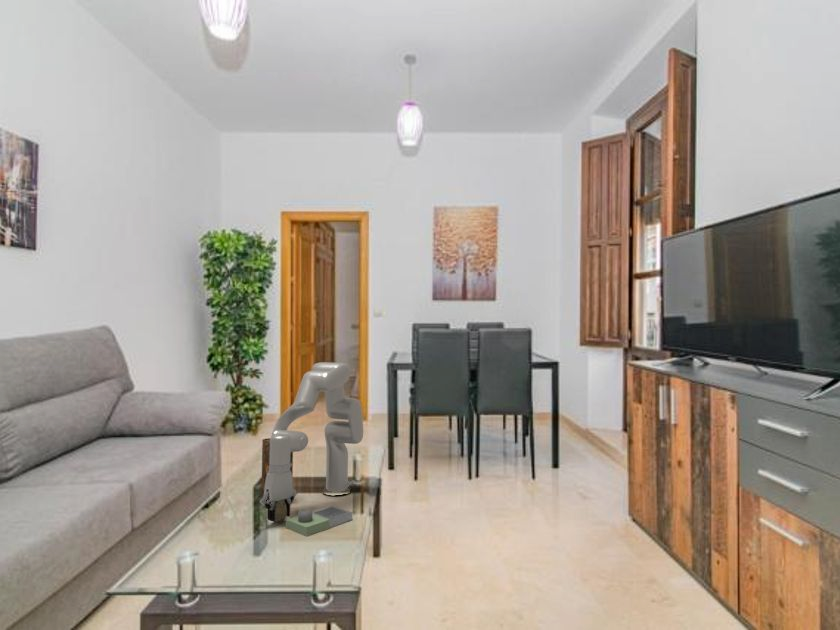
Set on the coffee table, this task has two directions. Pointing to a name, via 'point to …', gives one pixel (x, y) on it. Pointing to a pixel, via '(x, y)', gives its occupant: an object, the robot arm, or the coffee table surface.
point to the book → (266, 462)
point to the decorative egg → (280, 511)
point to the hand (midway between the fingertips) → (278, 517)
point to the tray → (334, 515)
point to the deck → (307, 523)
